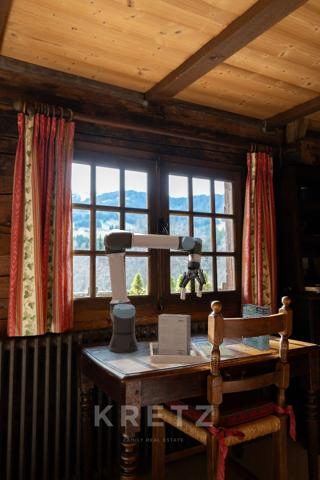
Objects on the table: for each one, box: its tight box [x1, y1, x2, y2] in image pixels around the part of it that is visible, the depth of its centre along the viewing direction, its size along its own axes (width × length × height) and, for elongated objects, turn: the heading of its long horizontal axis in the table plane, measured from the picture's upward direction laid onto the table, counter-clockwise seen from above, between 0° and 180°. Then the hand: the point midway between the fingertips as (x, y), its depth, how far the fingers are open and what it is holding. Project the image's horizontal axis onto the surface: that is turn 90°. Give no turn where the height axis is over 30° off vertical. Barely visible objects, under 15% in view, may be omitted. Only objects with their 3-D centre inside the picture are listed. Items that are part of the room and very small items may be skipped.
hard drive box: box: [157, 313, 191, 356], centre depth 183 cm, size 16×8×20 cm, turn 71°
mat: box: [200, 345, 236, 358], centre depth 190 cm, size 14×20×1 cm
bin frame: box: [149, 342, 203, 364], centre depth 183 cm, size 24×28×3 cm
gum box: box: [242, 303, 271, 351], centre depth 205 cm, size 20×5×23 cm, turn 20°
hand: (190, 297), depth 207 cm, fingers open, 13 cm apart
